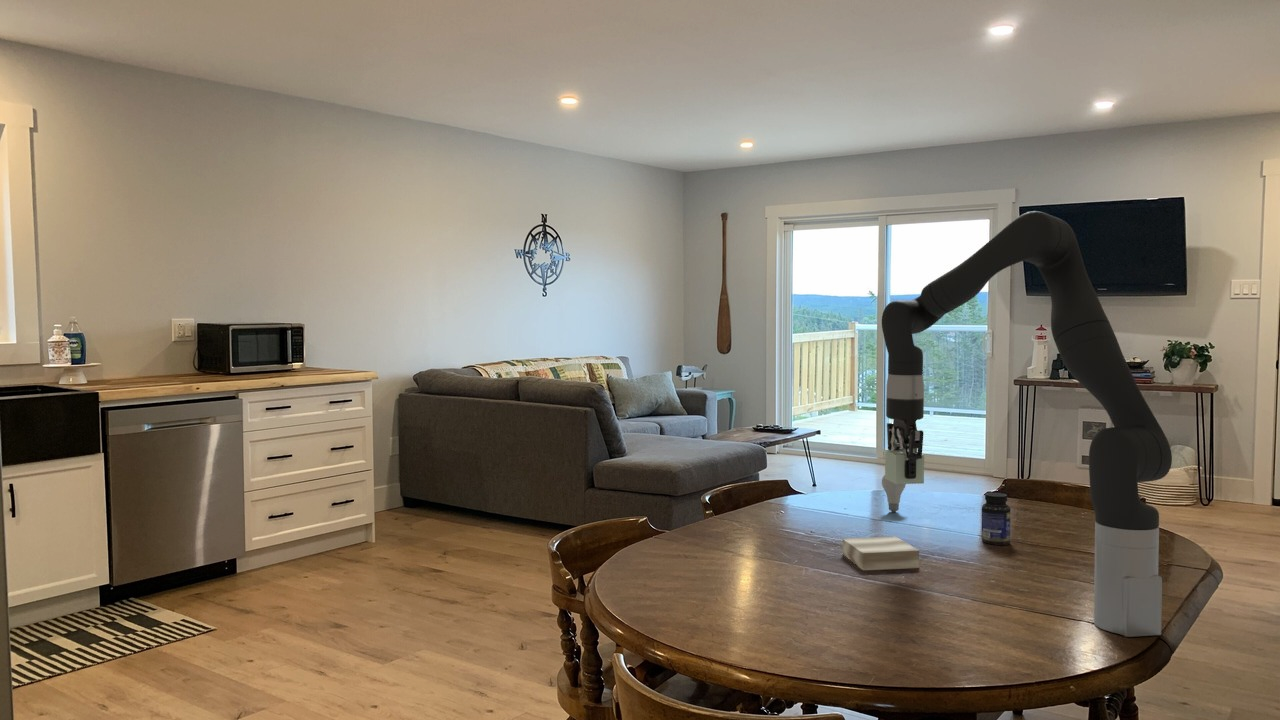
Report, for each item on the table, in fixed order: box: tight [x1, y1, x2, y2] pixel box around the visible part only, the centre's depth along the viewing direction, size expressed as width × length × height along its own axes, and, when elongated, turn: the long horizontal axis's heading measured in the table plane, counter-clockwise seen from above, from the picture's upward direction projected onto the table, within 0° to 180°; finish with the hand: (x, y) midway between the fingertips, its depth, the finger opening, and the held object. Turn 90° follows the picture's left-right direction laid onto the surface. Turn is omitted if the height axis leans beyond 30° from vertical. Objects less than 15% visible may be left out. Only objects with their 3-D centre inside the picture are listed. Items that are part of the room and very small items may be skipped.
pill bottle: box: [981, 492, 1011, 546], centre depth 204 cm, size 6×6×11 cm
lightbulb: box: [881, 474, 907, 513], centre depth 237 cm, size 6×6×11 cm
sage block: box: [884, 450, 925, 485], centre depth 188 cm, size 6×6×6 cm
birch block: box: [842, 536, 920, 571], centre depth 189 cm, size 12×12×4 cm
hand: (903, 475), depth 188 cm, fingers closed on sage block, 6 cm apart
